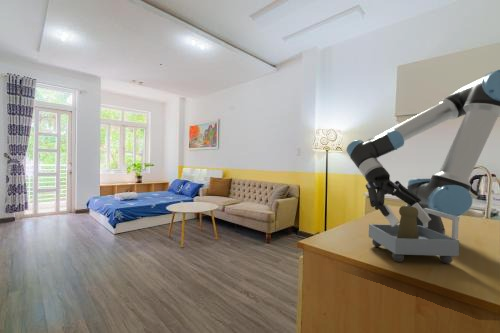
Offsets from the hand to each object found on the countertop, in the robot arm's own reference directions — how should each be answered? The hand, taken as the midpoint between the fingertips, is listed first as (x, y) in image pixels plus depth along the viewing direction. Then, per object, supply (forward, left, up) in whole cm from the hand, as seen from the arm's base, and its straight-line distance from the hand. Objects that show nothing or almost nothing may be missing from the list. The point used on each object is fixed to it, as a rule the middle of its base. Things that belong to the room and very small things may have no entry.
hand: (412, 223), depth 73 cm
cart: (0, -2, -11) cm, 11 cm away
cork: (0, -2, -6) cm, 7 cm away
